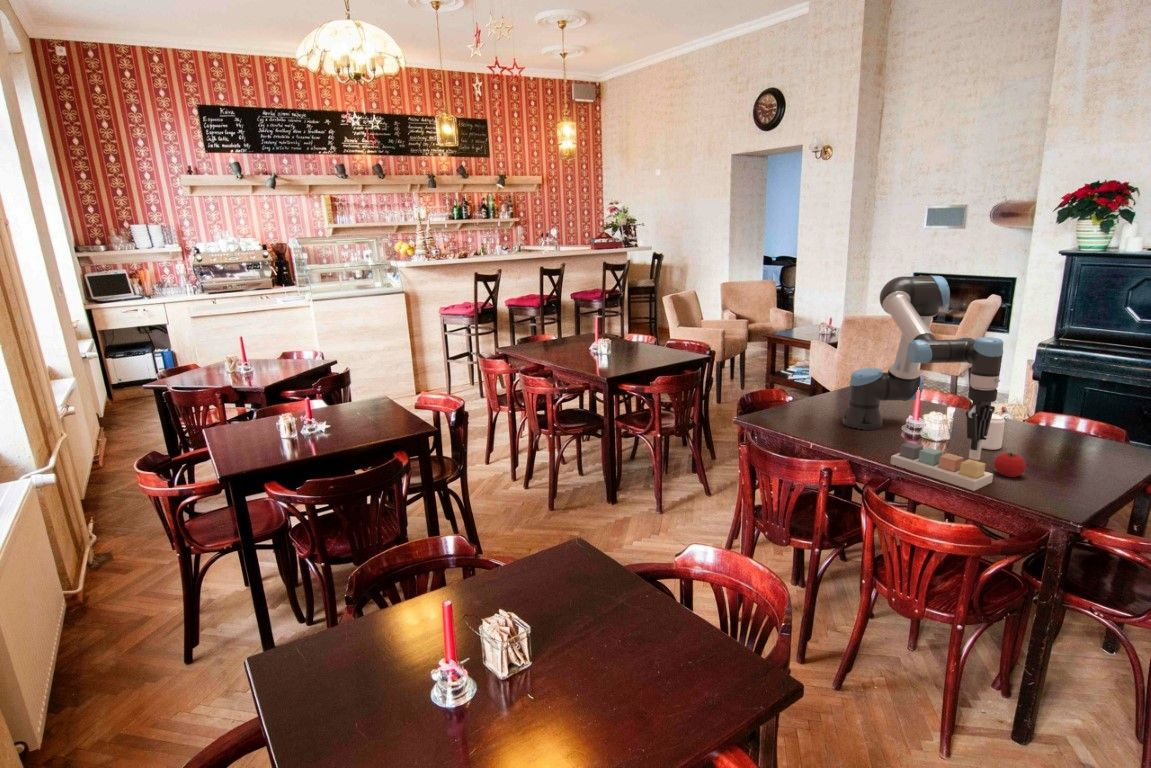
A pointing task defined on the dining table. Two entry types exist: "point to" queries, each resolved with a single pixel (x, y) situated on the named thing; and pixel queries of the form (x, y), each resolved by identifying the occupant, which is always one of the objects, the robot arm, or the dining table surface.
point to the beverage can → (994, 433)
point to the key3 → (950, 462)
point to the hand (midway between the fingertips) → (974, 458)
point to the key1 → (910, 450)
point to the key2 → (930, 456)
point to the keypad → (941, 473)
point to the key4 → (972, 469)
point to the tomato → (1010, 464)
